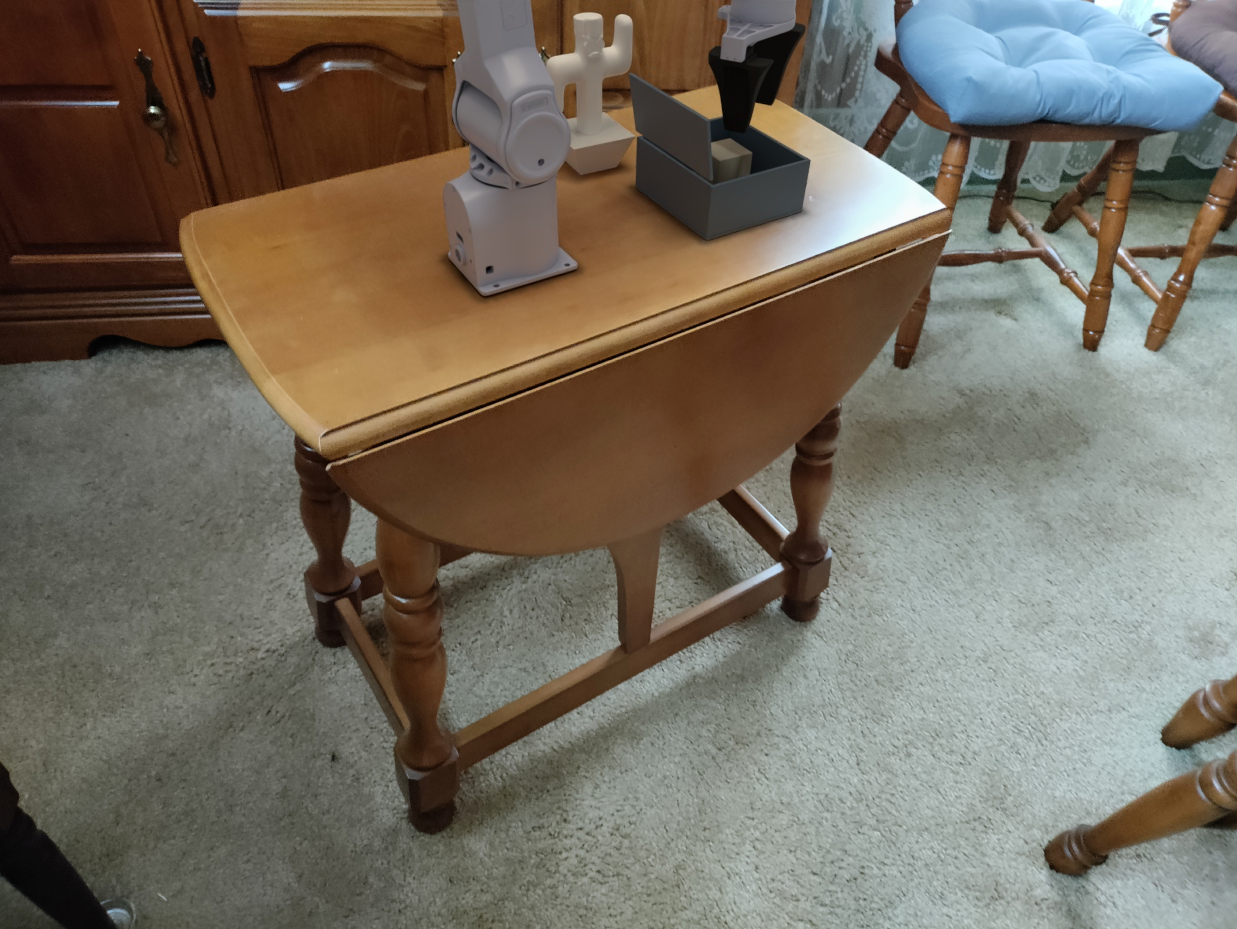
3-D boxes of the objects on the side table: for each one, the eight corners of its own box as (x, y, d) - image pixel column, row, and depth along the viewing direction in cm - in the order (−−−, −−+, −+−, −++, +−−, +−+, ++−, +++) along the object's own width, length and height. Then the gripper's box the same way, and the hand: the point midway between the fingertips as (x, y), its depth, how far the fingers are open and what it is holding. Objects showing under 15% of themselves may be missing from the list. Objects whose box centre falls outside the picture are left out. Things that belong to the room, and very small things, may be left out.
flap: (713, 179, 78) (710, 181, 78) (638, 129, 86) (635, 130, 86) (710, 119, 74) (706, 120, 74) (631, 72, 81) (628, 73, 81)
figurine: (536, 158, 94) (528, 10, 84) (612, 142, 98) (613, -3, 87) (565, 185, 90) (560, 32, 80) (643, 167, 93) (649, 18, 83)
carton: (706, 240, 82) (711, 187, 78) (635, 187, 90) (636, 136, 86) (801, 211, 87) (811, 159, 83) (726, 163, 94) (731, 113, 91)
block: (730, 137, 89) (697, 145, 87) (752, 152, 86) (719, 160, 85) (726, 174, 91) (694, 182, 90) (748, 190, 89) (716, 198, 87)
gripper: (753, -65, 80) (737, 84, 90) (693, -28, 71) (682, 135, 80) (826, -55, 78) (802, 97, 88) (774, -16, 69) (753, 150, 78)
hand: (749, 116), depth 84 cm, fingers open, 7 cm apart
